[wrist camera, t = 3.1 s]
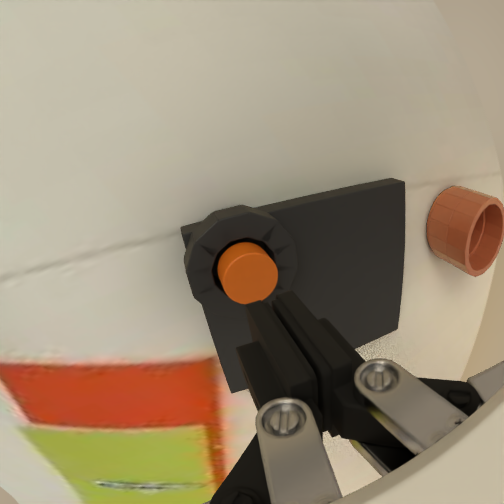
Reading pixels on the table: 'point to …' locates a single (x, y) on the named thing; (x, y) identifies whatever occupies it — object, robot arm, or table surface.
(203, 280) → the scale
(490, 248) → the small bowl
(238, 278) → the tare button
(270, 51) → the table surface
